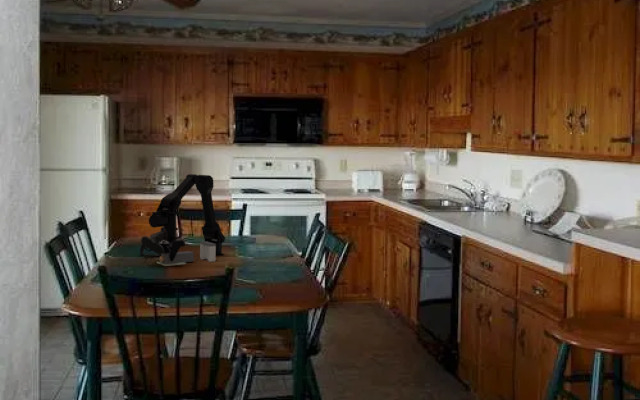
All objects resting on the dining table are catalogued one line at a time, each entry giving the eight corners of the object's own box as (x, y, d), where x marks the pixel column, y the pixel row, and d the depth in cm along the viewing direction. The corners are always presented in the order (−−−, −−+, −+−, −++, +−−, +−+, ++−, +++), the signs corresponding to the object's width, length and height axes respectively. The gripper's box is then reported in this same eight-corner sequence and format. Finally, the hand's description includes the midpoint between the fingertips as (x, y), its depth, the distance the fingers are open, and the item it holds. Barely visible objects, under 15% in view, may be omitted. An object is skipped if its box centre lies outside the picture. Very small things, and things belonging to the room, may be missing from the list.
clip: (205, 258, 331) (206, 241, 330) (215, 261, 324) (215, 243, 323) (200, 258, 329) (200, 241, 328) (209, 261, 322) (209, 244, 321)
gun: (162, 269, 330) (172, 251, 328) (134, 251, 332) (143, 233, 330) (165, 268, 332) (174, 250, 331) (137, 250, 335) (146, 232, 333)
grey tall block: (189, 259, 322) (189, 251, 322) (193, 261, 319) (193, 252, 319) (158, 262, 313) (158, 253, 313) (162, 264, 310) (162, 255, 309)
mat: (176, 260, 321) (176, 260, 321) (186, 264, 314) (186, 263, 314) (156, 262, 315) (156, 261, 315) (165, 266, 308) (165, 265, 308)
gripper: (143, 224, 315) (143, 258, 316) (162, 229, 300) (161, 265, 302) (166, 222, 322) (166, 256, 323) (185, 227, 307) (185, 262, 308)
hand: (169, 260), depth 314 cm, fingers open, 5 cm apart
